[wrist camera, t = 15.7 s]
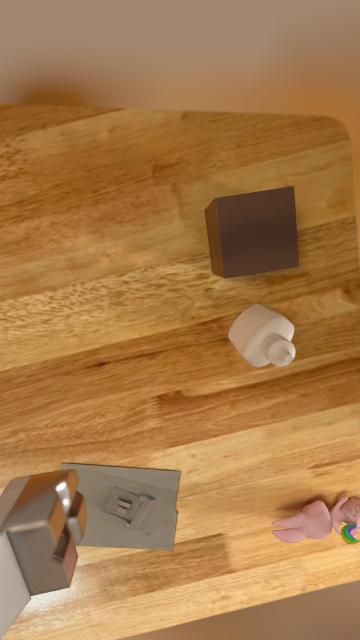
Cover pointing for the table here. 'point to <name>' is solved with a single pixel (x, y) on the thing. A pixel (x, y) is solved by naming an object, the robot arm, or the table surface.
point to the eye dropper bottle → (263, 336)
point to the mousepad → (128, 506)
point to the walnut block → (252, 232)
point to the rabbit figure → (321, 522)
